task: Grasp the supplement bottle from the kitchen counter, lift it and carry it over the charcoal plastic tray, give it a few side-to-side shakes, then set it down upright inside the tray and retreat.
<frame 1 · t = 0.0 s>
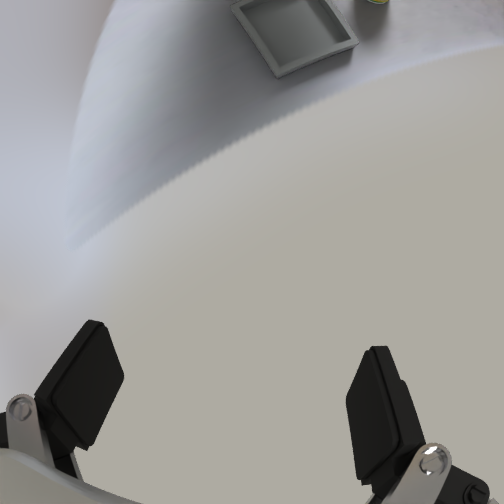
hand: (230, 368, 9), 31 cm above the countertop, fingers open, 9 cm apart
tray: (293, 27, 28), on the countertop
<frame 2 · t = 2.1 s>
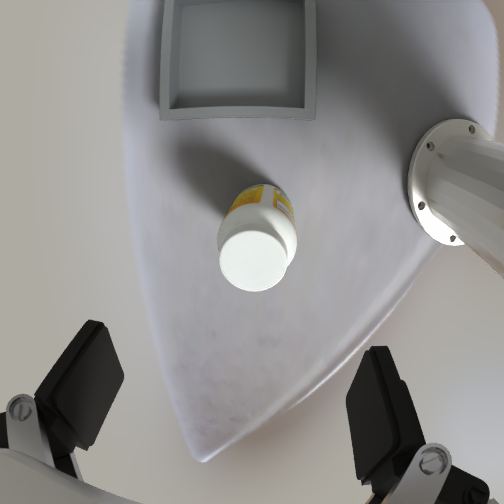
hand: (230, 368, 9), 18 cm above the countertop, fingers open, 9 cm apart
supplement bottle: (262, 211, 25), on the countertop
tray: (240, 53, 19), on the countertop
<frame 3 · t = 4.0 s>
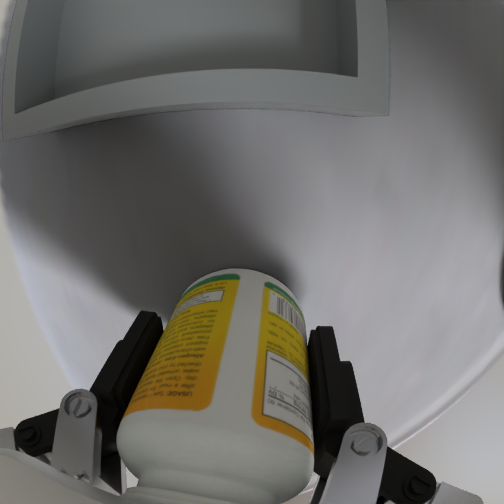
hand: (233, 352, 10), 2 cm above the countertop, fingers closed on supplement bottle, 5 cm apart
supplement bottle: (240, 316, 12), on the countertop, touching gripper
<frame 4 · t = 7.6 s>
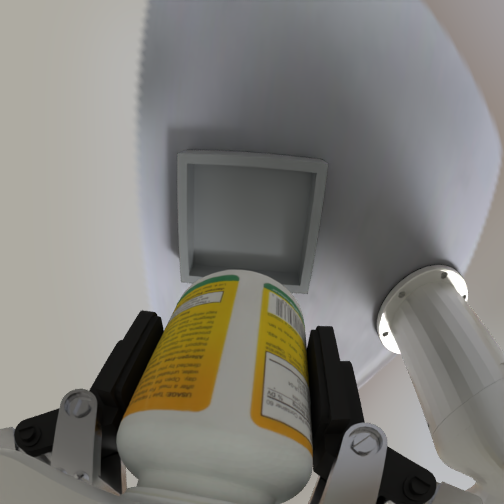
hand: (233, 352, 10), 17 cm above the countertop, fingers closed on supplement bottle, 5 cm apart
supplement bottle: (239, 317, 12), point 15 cm above the countertop, touching gripper
tray: (249, 216, 26), on the countertop
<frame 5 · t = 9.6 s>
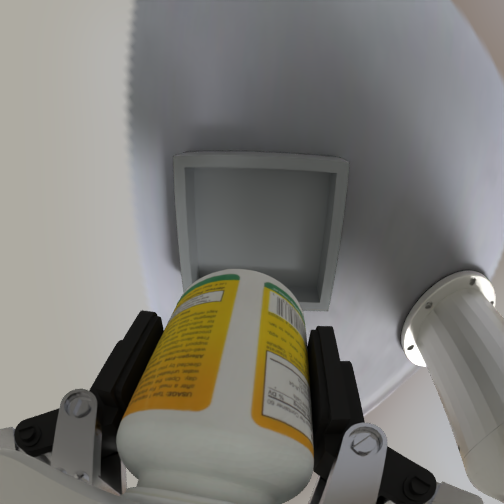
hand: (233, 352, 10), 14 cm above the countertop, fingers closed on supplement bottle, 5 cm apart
supplement bottle: (240, 316, 12), point 12 cm above the countertop, touching gripper
tray: (260, 225, 23), on the countertop
when the fingers open (4 cm above the countertop, at t = 11.3 s): supplement bottle drops 1 cm, resting on tray.
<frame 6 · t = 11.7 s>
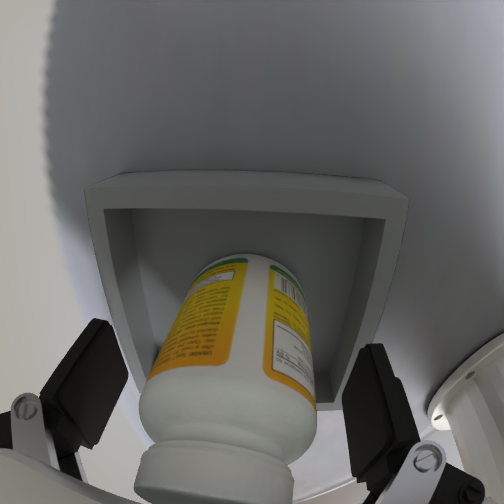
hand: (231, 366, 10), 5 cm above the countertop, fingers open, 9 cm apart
supplement bottle: (246, 299, 14), point 1 cm above the countertop, touching tray
tray: (244, 290, 14), on the countertop
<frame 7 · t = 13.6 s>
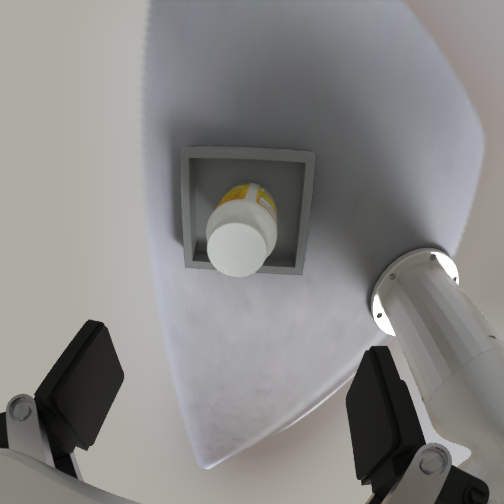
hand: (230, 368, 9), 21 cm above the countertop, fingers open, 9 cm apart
supplement bottle: (248, 207, 28), point 1 cm above the countertop, touching tray
tray: (247, 205, 28), on the countertop
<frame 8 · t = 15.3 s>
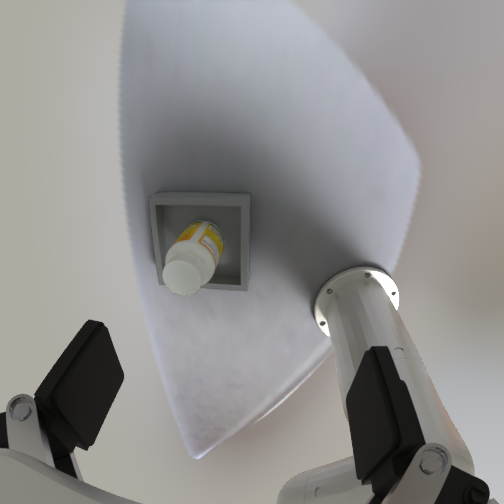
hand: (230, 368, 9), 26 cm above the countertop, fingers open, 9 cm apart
supplement bottle: (204, 238, 36), point 1 cm above the countertop, touching tray
tray: (204, 236, 36), on the countertop
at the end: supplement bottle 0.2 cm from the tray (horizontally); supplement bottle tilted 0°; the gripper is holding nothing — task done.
